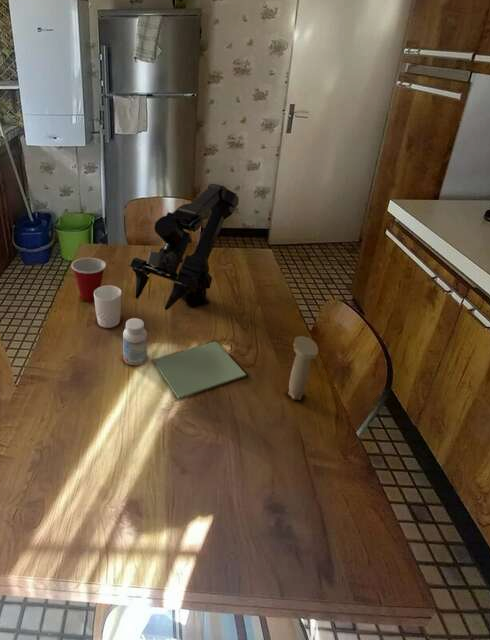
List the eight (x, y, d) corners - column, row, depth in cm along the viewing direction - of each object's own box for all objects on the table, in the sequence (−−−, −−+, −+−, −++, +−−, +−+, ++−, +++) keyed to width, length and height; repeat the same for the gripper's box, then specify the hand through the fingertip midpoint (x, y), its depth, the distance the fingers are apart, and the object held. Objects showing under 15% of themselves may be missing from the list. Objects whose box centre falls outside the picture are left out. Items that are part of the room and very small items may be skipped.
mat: (216, 342, 120) (216, 341, 120) (245, 376, 109) (246, 374, 108) (153, 361, 113) (153, 359, 113) (178, 399, 102) (178, 397, 101)
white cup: (118, 331, 124) (117, 301, 120) (91, 327, 126) (90, 298, 121) (124, 315, 131) (124, 286, 127) (99, 311, 133) (98, 283, 128)
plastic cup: (113, 292, 143) (112, 259, 138) (96, 309, 134) (94, 275, 129) (85, 284, 147) (83, 252, 142) (66, 300, 138) (64, 267, 133)
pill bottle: (122, 351, 117) (122, 316, 112) (145, 350, 117) (146, 315, 112) (123, 366, 111) (123, 331, 106) (147, 365, 112) (147, 330, 107)
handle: (301, 386, 106) (312, 336, 99) (309, 406, 100) (321, 355, 94) (281, 385, 106) (291, 335, 99) (288, 405, 100) (299, 354, 94)
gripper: (133, 230, 115) (108, 284, 112) (195, 248, 106) (171, 307, 103) (149, 246, 125) (126, 296, 121) (207, 264, 115) (185, 318, 112)
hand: (150, 303), depth 114 cm, fingers open, 9 cm apart
